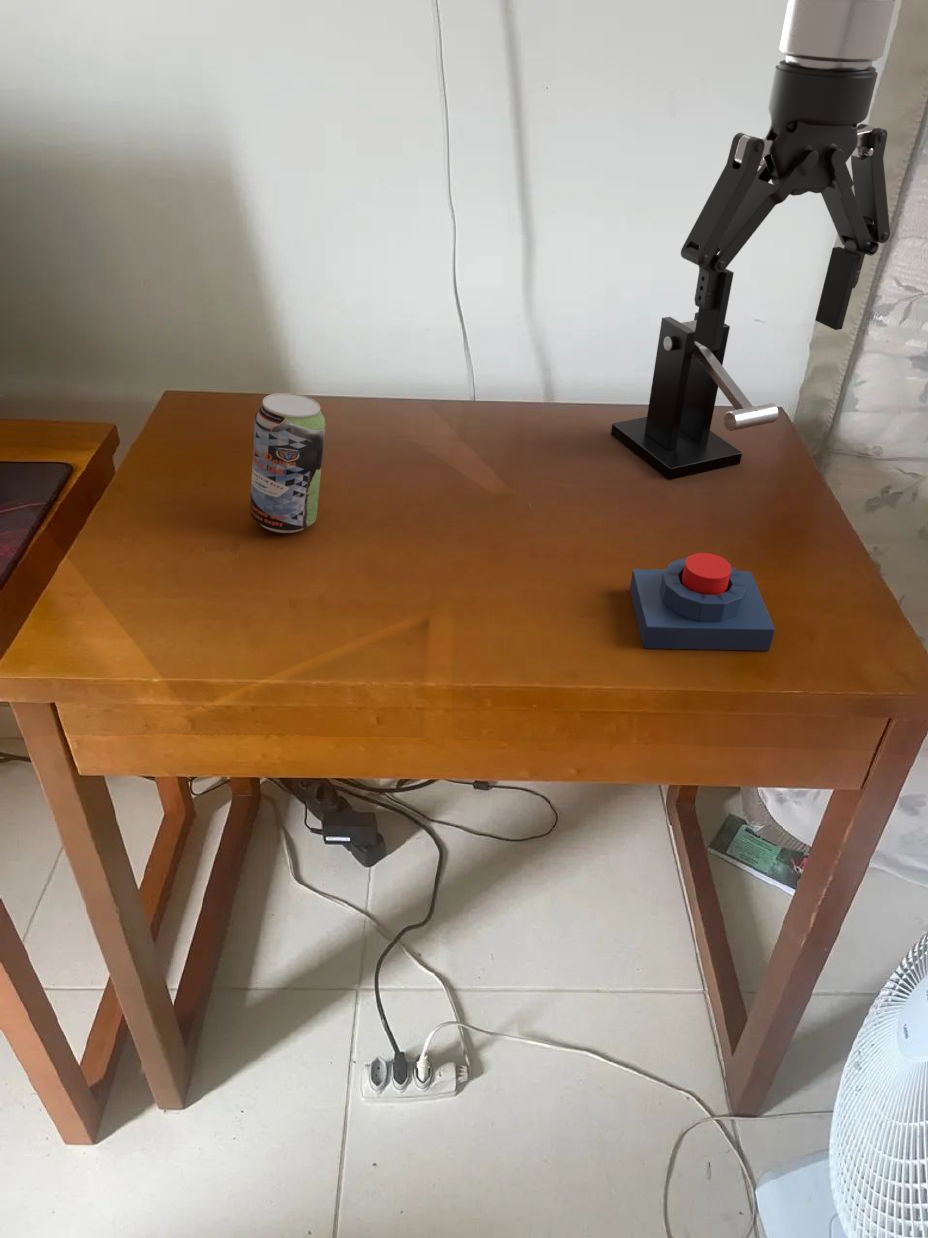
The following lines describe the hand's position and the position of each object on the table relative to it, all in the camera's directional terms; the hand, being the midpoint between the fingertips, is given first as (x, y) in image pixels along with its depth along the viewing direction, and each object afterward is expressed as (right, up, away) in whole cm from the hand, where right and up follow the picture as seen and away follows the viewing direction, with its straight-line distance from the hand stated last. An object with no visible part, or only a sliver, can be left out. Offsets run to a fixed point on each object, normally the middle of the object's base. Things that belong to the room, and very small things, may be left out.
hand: (768, 334), depth 87 cm
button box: (-8, -25, -7) cm, 27 cm away
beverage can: (-43, -16, +4) cm, 46 cm away
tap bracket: (-5, -7, +18) cm, 19 cm away
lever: (-3, -2, +9) cm, 10 cm away
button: (-8, -22, -9) cm, 25 cm away
